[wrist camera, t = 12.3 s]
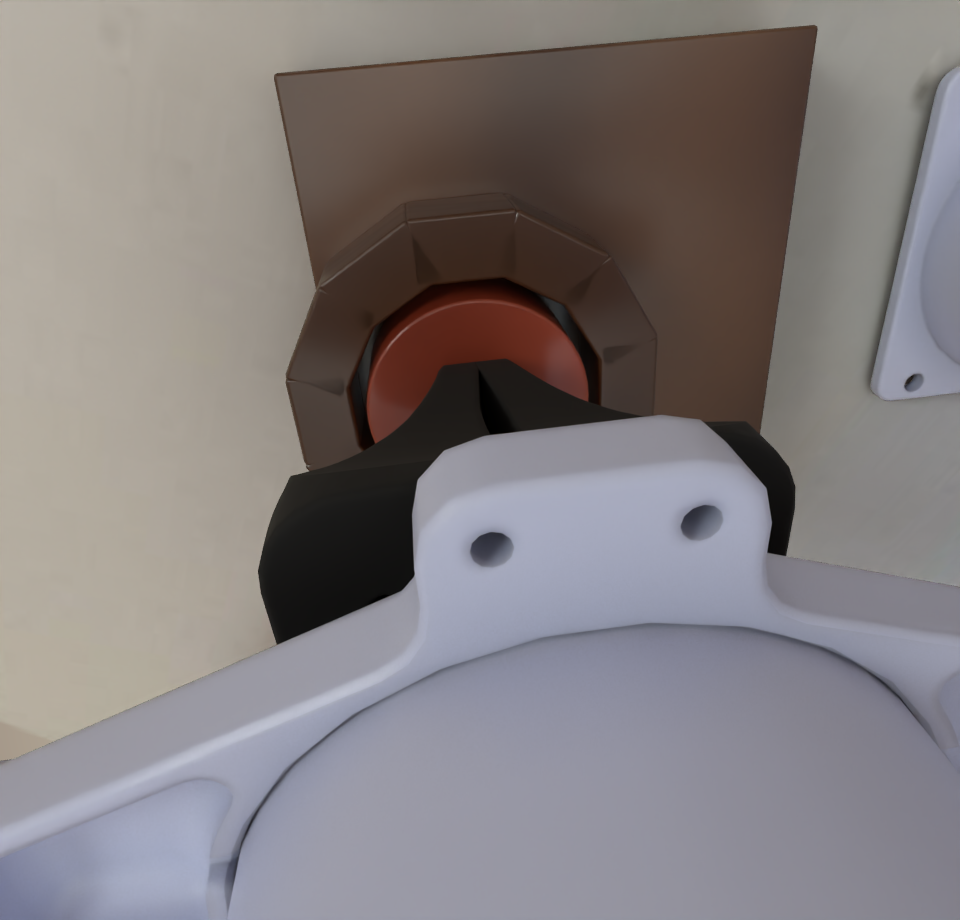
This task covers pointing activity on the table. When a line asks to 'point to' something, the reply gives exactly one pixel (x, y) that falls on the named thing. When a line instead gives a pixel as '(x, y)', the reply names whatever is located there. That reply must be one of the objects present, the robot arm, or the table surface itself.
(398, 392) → the button
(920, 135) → the table surface
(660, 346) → the button box
